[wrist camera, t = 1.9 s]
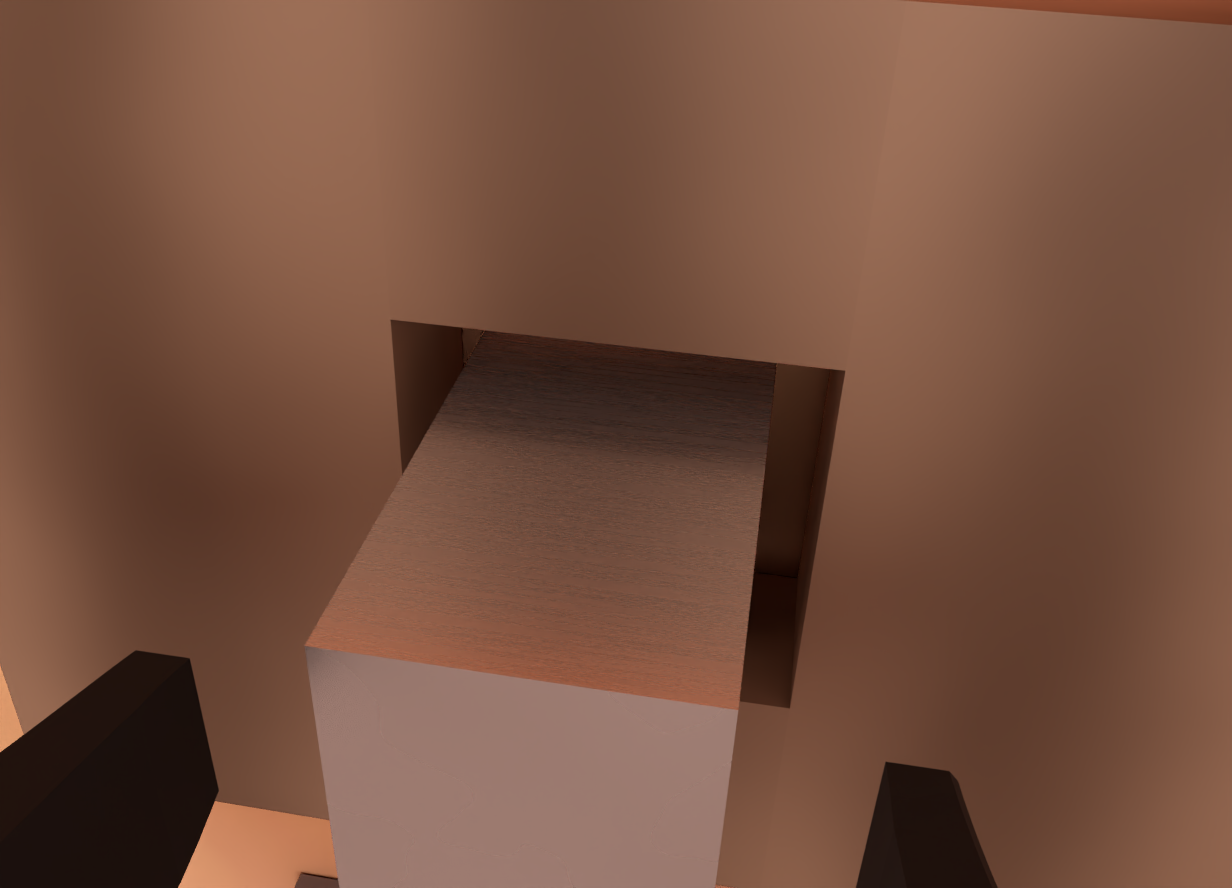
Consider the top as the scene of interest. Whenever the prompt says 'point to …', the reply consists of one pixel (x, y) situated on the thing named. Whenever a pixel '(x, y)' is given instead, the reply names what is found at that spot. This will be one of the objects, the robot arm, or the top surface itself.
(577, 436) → the steel peg
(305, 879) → the rubber mat
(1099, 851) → the walnut board
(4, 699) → the top surface
